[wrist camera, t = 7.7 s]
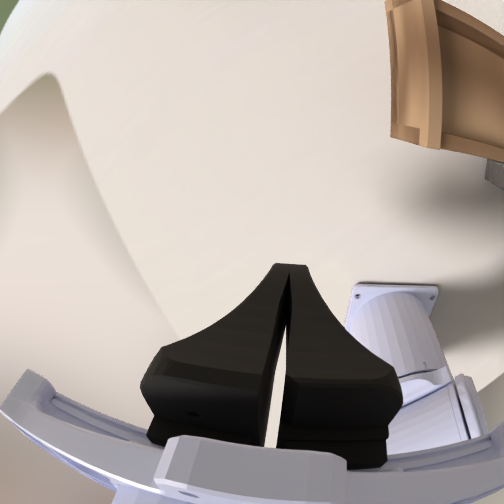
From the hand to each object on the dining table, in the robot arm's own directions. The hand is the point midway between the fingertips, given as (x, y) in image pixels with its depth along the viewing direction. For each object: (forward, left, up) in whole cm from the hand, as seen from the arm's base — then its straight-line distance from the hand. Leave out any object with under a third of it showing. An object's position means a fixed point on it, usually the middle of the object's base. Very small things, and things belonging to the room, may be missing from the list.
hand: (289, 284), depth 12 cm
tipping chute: (+4, -15, -5) cm, 17 cm away
